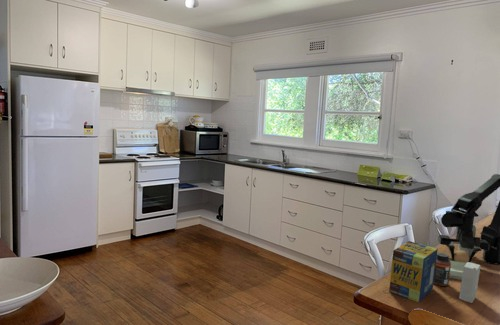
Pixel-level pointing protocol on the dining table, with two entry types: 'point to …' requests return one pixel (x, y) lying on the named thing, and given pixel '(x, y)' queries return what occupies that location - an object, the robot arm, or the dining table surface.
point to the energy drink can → (468, 248)
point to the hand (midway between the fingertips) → (460, 261)
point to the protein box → (413, 270)
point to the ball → (461, 256)
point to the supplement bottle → (442, 270)
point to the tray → (457, 269)
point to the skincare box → (469, 282)
